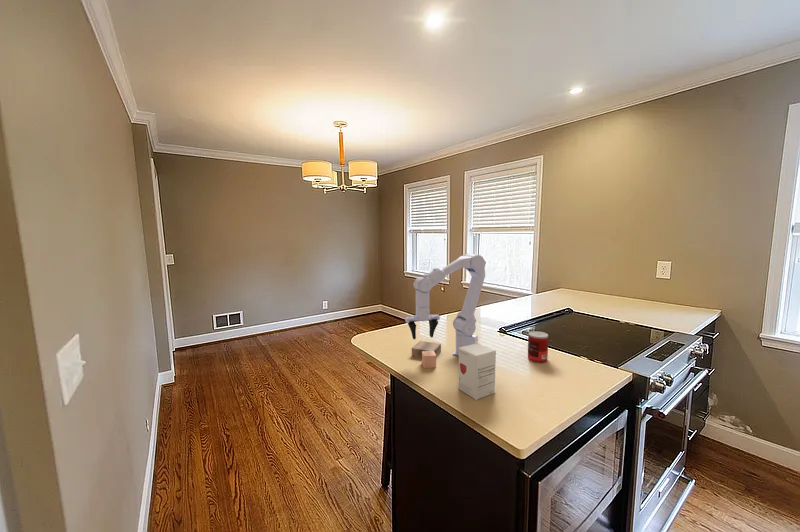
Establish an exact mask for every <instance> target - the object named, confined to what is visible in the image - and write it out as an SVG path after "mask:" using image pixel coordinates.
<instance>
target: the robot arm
mask: <svg viewBox="0 0 800 532" xmlns="http://www.w3.org/2000/svg"><path fill="white" fill-rule="evenodd" d="M486 263H487V262H486V260H485V259H484V257H483V256H482V255H481V254H472V253H464V254H463V255H461V256H459V257H458V258H457V259H455V260H453V261H452V262H450V263H449V264H447V265H446V266H444V267H443V268H439V267H438V268H436V267H434V268H432V270H431V271H430V272H428V273H427V274H426V273H424V274H423V276H419V277H416V278H415V280H414V282H413V283H412V285H413V288H414V289H415V315H412V316H411V315H410V316H406V317H404V319H405V320H404V321H405V323H406V324H407V325H408V327H409V330H410V332H411V336H412V339H413V340H416V339H417V336H416V335H417V334H416V330H417V324H416V323H417V322H427V321H428V325H429V337H430V338H434V334H435V331H436V328H437V326H438V325H439V321H440V317H441V316H440V315H439V314H430V291H431V290H432V288H433V287H435V286H436V285H438V284H440V283H442V282H444V281H445V279H446V276H449V275H451V274H452V273H454V272H456V271H458V270H460V269H466V271H468V273H469V275H470V276H471V279H470V281H469V286H468V287H467V291H466V295H465V298H464V301H463V304H462V309H461V310H460V311H458V313H457V315H456V317H455V318H454V319H453V322H452V325H453V326H452V327H453V328H454V329H455V350H454V351H453V353H452V355H454V356H459V348H460V347H463V346H467V345H471V344H475V343H478V344H479V342H478V341H479V338H478V335H477V334H474V333H475V332H476V329H477V327H476V322H477V318H476V316H475V312H476V307H477V305H478V302H479V298H480V295H481V291H482V288H483V285H484V282H485V278H486V270H485V268H486Z"/></svg>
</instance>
